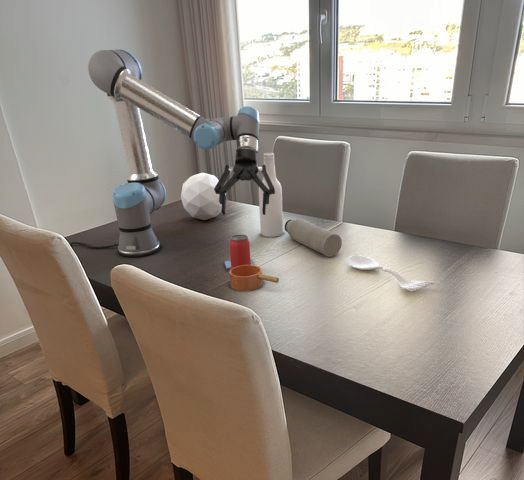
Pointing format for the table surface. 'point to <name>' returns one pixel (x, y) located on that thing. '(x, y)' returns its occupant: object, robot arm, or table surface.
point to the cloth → (229, 265)
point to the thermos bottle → (314, 237)
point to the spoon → (370, 264)
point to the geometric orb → (201, 196)
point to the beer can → (239, 250)
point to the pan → (245, 277)
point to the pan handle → (268, 278)
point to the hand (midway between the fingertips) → (243, 213)
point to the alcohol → (271, 202)
